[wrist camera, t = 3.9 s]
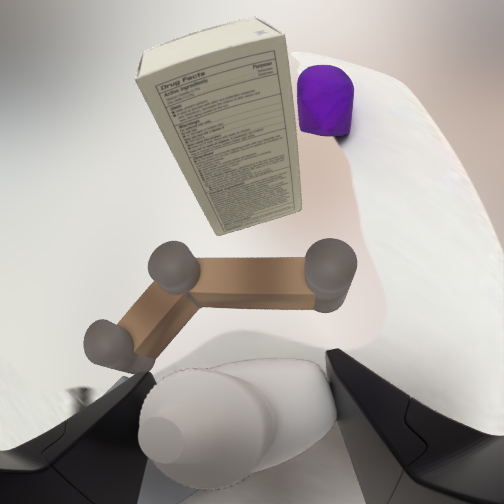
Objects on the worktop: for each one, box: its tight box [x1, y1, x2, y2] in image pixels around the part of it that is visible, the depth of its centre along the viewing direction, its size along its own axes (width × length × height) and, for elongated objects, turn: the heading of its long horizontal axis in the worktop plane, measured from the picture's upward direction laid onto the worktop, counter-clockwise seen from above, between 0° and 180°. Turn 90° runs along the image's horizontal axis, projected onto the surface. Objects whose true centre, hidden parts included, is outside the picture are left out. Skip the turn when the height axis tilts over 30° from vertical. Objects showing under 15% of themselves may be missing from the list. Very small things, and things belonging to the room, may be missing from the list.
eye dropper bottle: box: [138, 358, 337, 491], centre depth 8 cm, size 4×6×12 cm
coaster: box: [103, 376, 199, 504], centre depth 12 cm, size 8×8×1 cm
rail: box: [84, 238, 357, 374], centre depth 14 cm, size 13×8×4 cm, turn 136°
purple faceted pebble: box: [297, 65, 354, 136], centre depth 23 cm, size 5×5×15 cm
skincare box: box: [135, 17, 302, 236], centre depth 15 cm, size 6×4×12 cm
